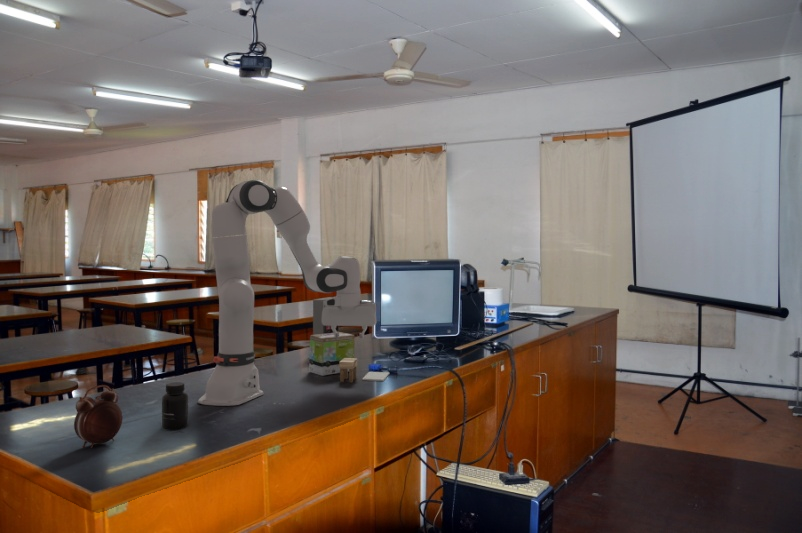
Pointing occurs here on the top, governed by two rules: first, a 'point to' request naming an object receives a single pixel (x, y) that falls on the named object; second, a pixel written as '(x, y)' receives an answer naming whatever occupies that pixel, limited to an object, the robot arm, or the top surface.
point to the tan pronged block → (348, 364)
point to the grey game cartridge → (320, 318)
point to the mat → (375, 376)
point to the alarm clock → (98, 417)
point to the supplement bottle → (174, 407)
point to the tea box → (329, 352)
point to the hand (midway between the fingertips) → (349, 337)
